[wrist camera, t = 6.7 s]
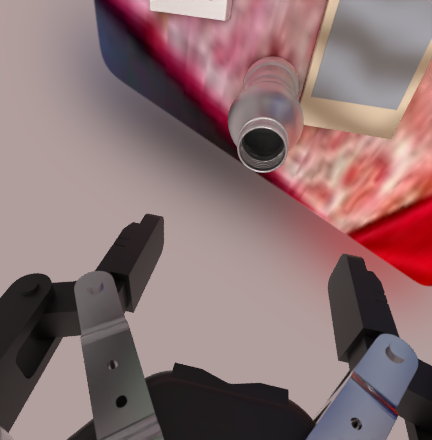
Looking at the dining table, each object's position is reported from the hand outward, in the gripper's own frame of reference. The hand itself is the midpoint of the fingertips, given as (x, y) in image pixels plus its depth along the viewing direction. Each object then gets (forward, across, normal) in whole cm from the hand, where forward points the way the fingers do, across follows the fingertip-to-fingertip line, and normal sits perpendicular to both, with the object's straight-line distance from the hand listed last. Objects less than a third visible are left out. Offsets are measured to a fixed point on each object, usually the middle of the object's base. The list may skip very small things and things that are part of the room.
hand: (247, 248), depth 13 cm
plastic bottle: (+30, 0, 0) cm, 31 cm away
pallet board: (+30, -10, -5) cm, 32 cm away
